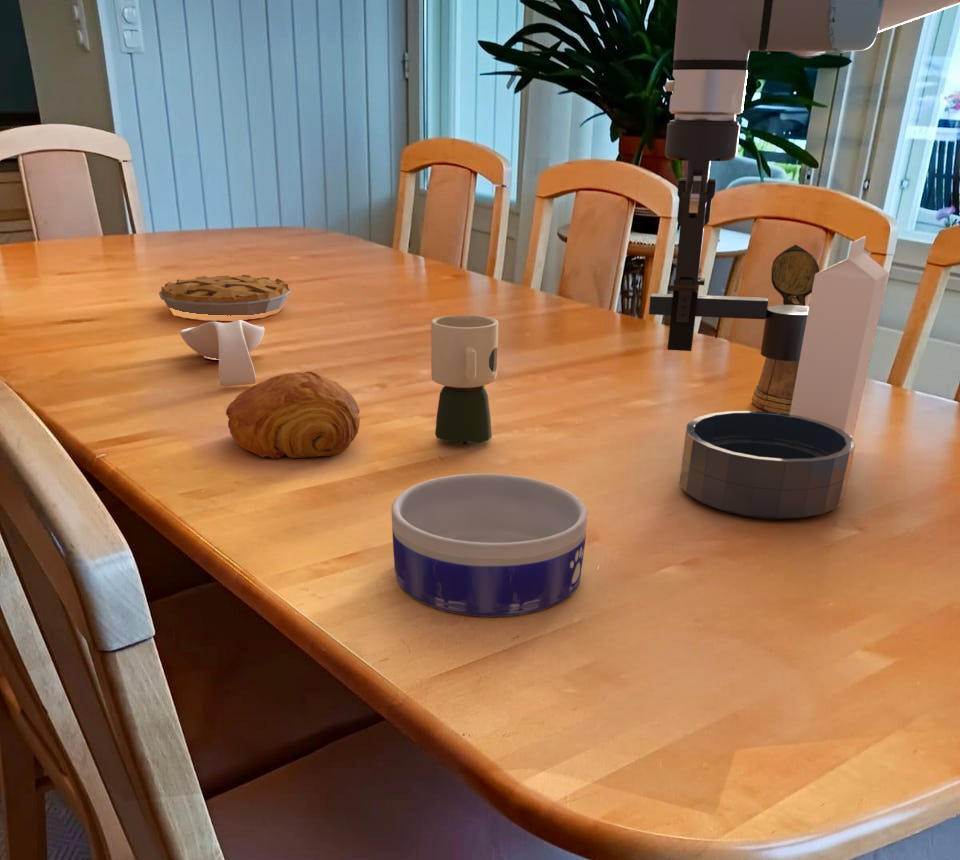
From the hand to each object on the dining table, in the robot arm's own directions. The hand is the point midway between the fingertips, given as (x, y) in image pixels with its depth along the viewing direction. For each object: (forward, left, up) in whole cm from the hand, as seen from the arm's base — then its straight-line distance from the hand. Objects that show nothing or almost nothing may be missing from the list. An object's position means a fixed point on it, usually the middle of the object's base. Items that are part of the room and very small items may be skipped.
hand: (680, 346), depth 113 cm
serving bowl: (-10, +23, -9) cm, 26 cm away
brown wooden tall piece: (-14, -12, -9) cm, 20 cm away
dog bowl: (+12, +48, -9) cm, 50 cm away
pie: (+78, -43, -9) cm, 90 cm away
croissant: (+40, +20, -9) cm, 46 cm away
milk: (-16, +9, -9) cm, 20 cm away
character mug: (+22, +15, -9) cm, 28 cm away
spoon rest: (+61, -8, -9) cm, 62 cm away
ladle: (-6, 0, 0) cm, 6 cm away
